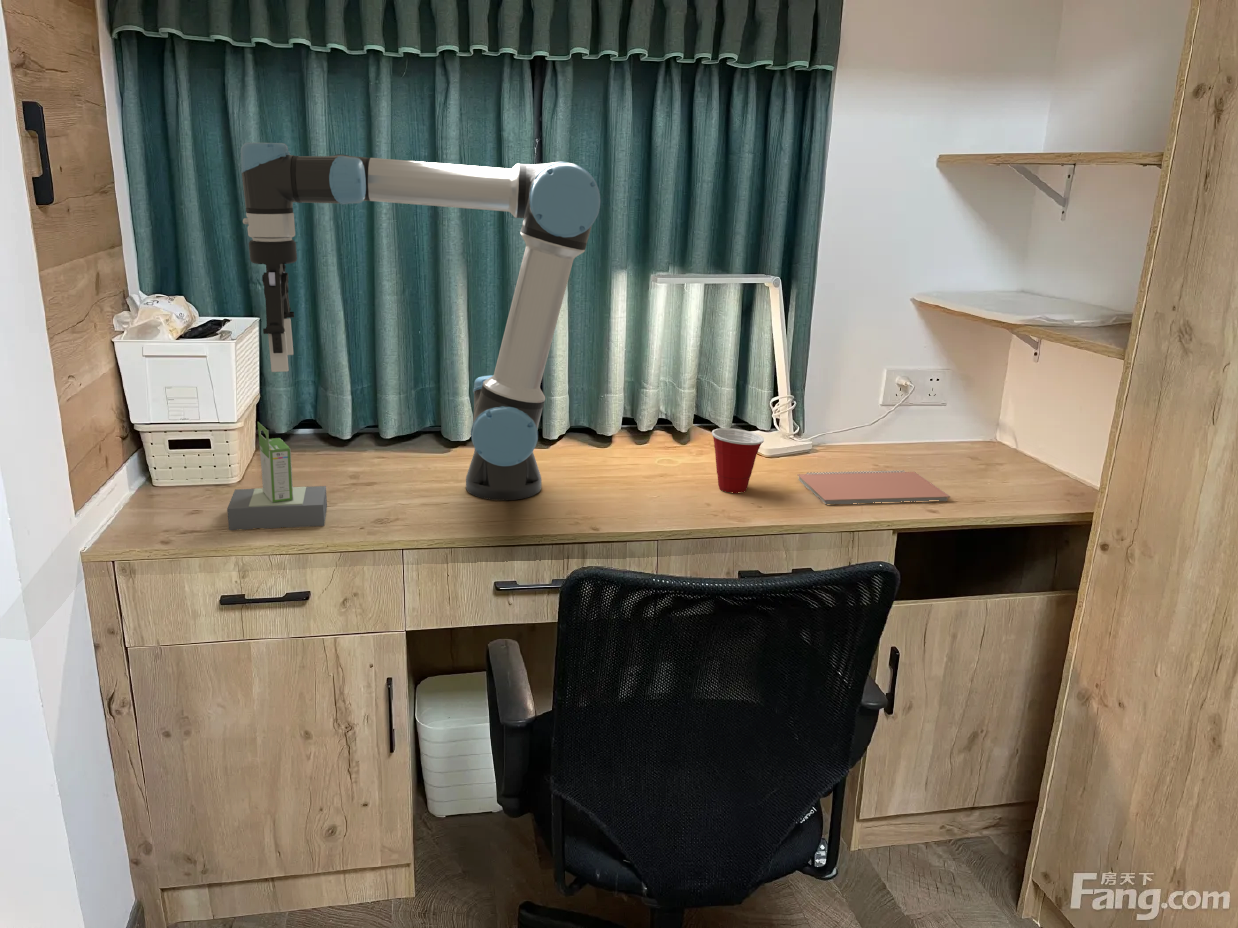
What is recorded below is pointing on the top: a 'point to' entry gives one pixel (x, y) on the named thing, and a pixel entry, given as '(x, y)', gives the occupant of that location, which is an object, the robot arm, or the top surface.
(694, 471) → the top surface
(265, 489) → the ink box
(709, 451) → the top surface
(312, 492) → the plinth
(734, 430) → the plastic cup
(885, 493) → the notebook
